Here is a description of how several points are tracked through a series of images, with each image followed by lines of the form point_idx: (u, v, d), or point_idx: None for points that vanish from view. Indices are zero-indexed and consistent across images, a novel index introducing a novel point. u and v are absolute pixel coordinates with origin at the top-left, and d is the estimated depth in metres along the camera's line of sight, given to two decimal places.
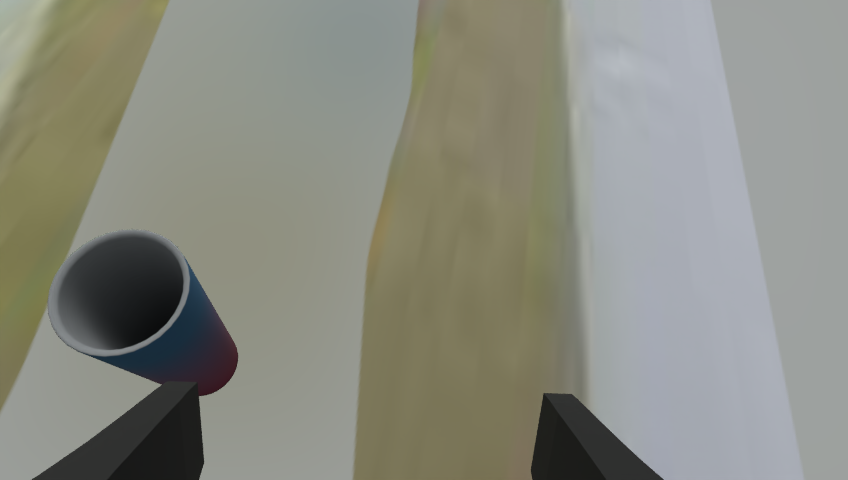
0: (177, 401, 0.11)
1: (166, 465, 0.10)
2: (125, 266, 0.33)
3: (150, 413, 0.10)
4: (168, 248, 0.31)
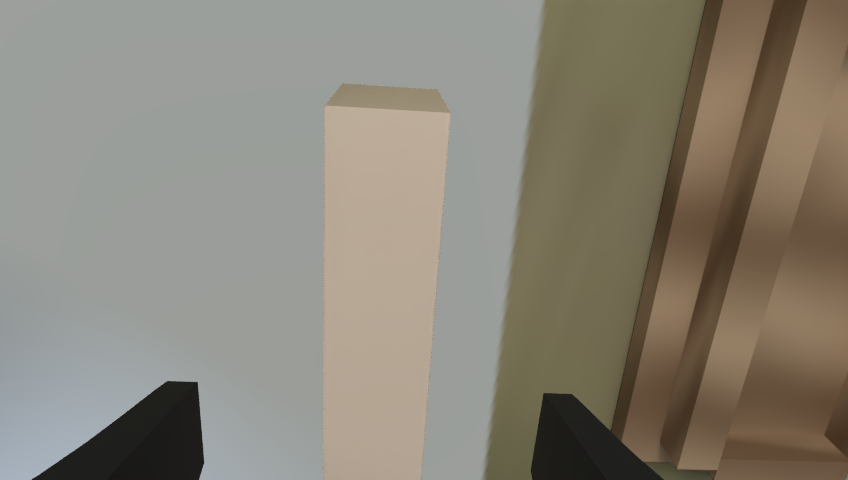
0: (177, 401, 0.11)
1: (166, 465, 0.10)
2: None
3: (150, 413, 0.10)
4: None
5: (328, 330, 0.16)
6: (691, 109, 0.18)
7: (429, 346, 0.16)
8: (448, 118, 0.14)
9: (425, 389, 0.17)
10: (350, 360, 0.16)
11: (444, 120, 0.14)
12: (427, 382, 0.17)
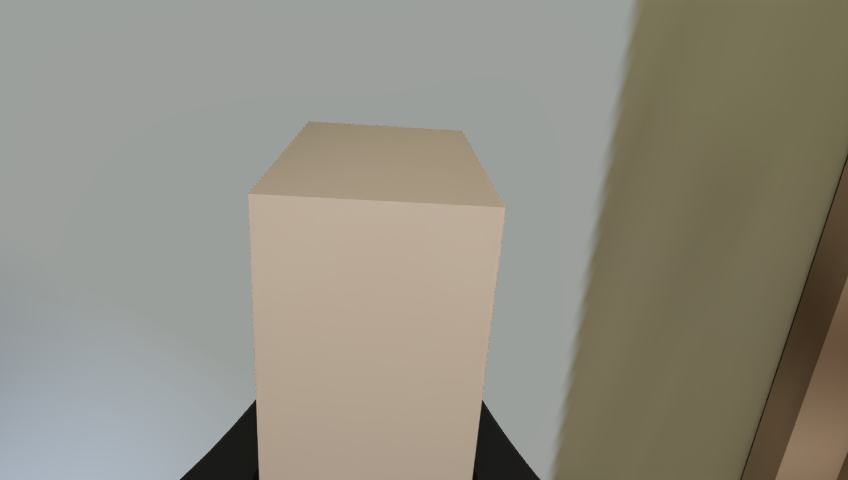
0: None
1: None
2: None
3: None
4: None
5: None
6: None
7: None
8: (500, 217, 0.07)
9: None
10: None
11: (492, 221, 0.07)
12: None
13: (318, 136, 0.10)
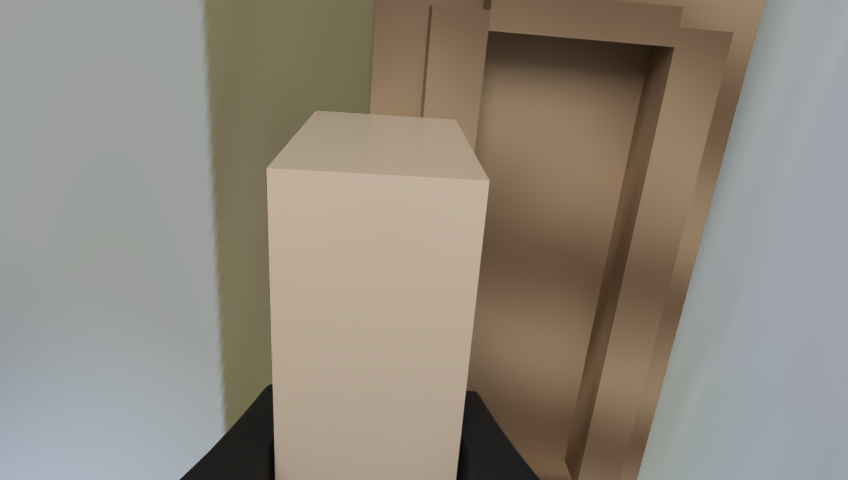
0: None
1: None
2: None
3: (267, 416, 0.10)
4: None
5: None
6: None
7: None
8: (485, 189, 0.08)
9: None
10: None
11: (478, 192, 0.08)
12: None
13: (324, 123, 0.11)
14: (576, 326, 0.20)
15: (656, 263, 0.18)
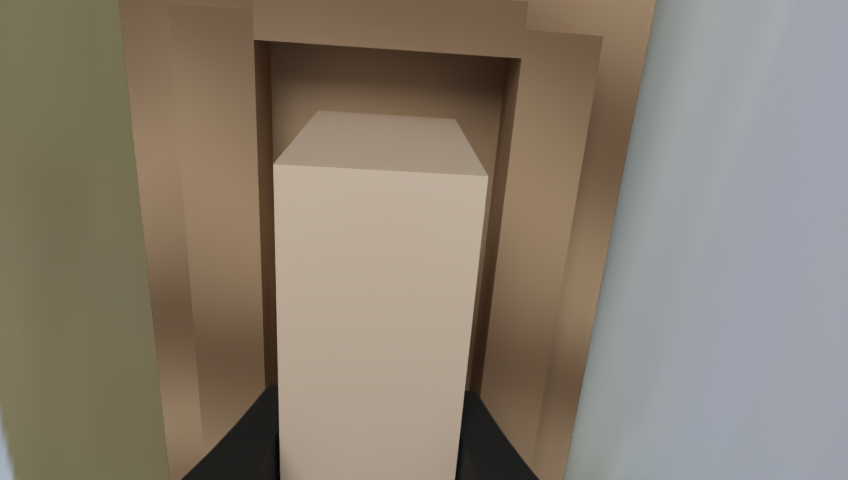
0: None
1: None
2: None
3: (268, 416, 0.10)
4: None
5: None
6: None
7: None
8: (484, 184, 0.08)
9: None
10: None
11: (477, 188, 0.08)
12: None
13: (327, 122, 0.11)
14: None
15: (527, 344, 0.13)
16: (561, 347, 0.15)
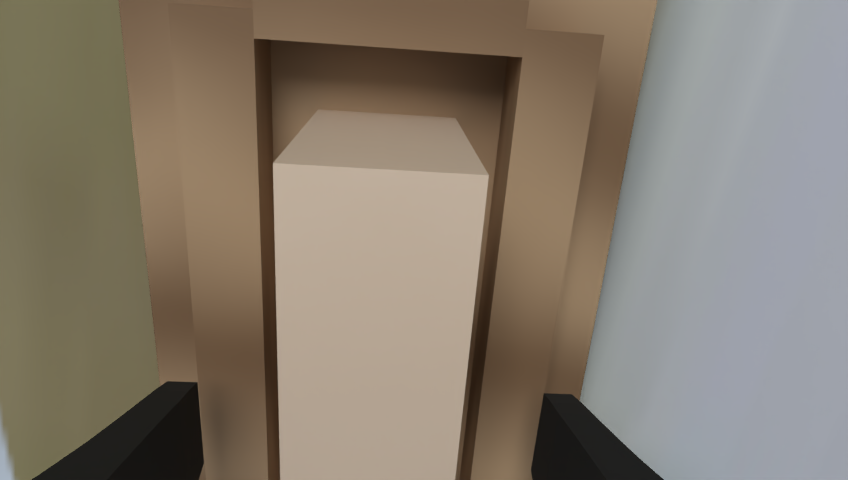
0: (177, 401, 0.11)
1: (166, 465, 0.10)
2: None
3: (150, 413, 0.10)
4: None
5: None
6: None
7: None
8: (484, 184, 0.08)
9: None
10: None
11: (477, 187, 0.08)
12: None
13: (327, 121, 0.11)
14: None
15: (527, 343, 0.13)
16: (562, 347, 0.15)
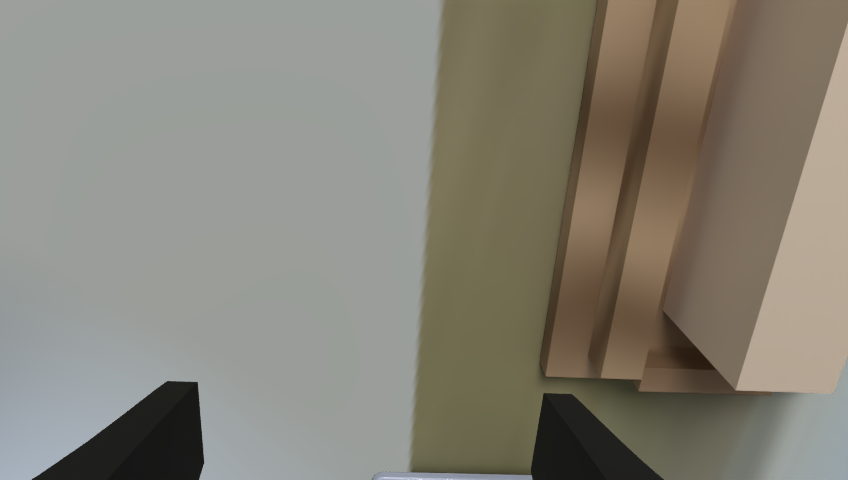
0: (177, 401, 0.11)
1: (166, 465, 0.10)
2: None
3: (150, 413, 0.10)
4: None
5: (800, 194, 0.15)
6: None
7: None
8: None
9: None
10: (812, 230, 0.15)
11: None
12: None
13: None
14: None
15: None
16: None
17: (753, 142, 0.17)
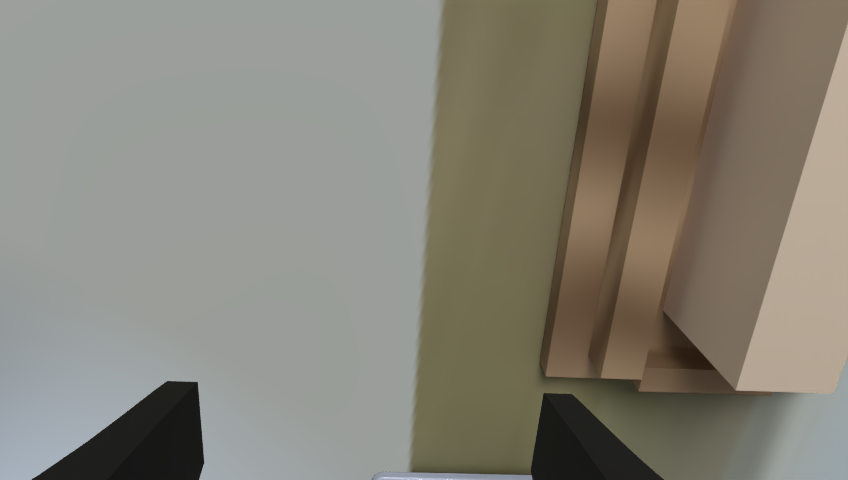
0: (177, 401, 0.11)
1: (166, 465, 0.10)
2: None
3: (150, 413, 0.10)
4: None
5: (800, 194, 0.15)
6: None
7: None
8: None
9: None
10: (812, 230, 0.15)
11: None
12: None
13: None
14: None
15: None
16: None
17: (753, 142, 0.17)
